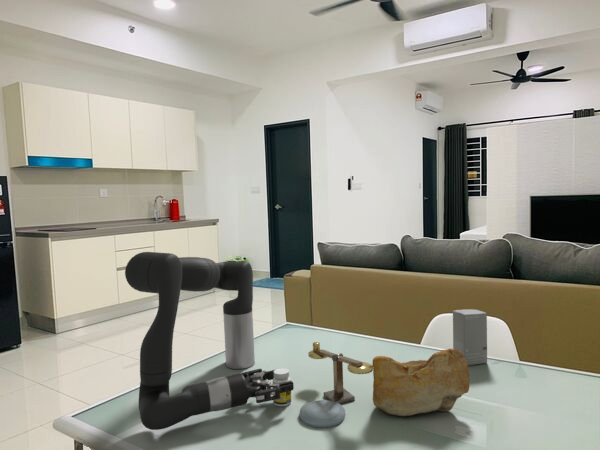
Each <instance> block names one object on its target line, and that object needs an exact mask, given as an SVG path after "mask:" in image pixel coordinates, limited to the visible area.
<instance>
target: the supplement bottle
mask: <svg viewBox="0 0 600 450" xmlns="http://www.w3.org/2000/svg"><path fill="white" fill-rule="evenodd" d="M273 370H274V378H273V379H272V384H279V383H283V382H288V381H292V380H291V377H290V370H289V369H288V368H285V367H284V368H283V367H282V368H277V369H273ZM272 396H275V395H272ZM272 402H273V404H274V405H275V406H277V407H287V406H289V405H291V404H292V391H287V392H283V393H280V399H276V400H272Z"/></svg>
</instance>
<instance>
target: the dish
mask: <svg viewBox="0 0 600 450" xmlns="http://www.w3.org/2000/svg"><path fill="white" fill-rule="evenodd" d="M345 418H346V409H345V406H343V405H342V404H339V403H336V402H333V401H329V400H327V399H323V400H322V399H320V400H319V399H318V400H313V401H309V402H307V403H304V405H302V406H301V408H300V409H299V419H300V421H301V422H302V424H303V423H304V424H305V425H306V426H308V427H309V426H310V427H314V428H322V429H323V428H325V429H326V428H331V427H336V426H338V425H340V424H341V423H342V422H344V420H345Z"/></svg>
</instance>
